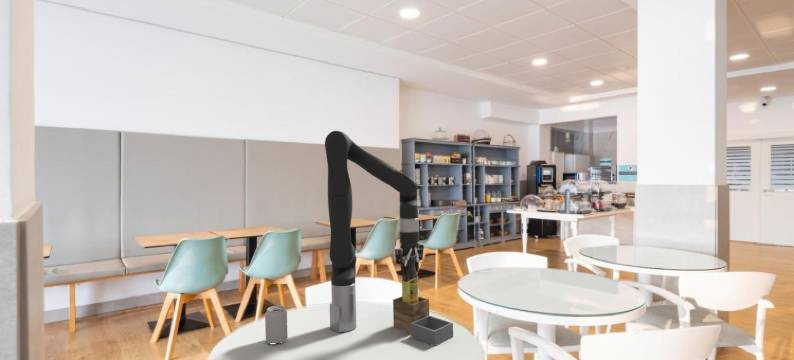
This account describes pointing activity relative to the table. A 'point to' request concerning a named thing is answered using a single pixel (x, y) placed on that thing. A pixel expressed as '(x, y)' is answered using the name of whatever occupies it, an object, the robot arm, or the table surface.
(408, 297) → the sauce bottle
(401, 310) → the box
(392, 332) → the table surface
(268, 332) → the can
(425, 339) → the low holder
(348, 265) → the robot arm
